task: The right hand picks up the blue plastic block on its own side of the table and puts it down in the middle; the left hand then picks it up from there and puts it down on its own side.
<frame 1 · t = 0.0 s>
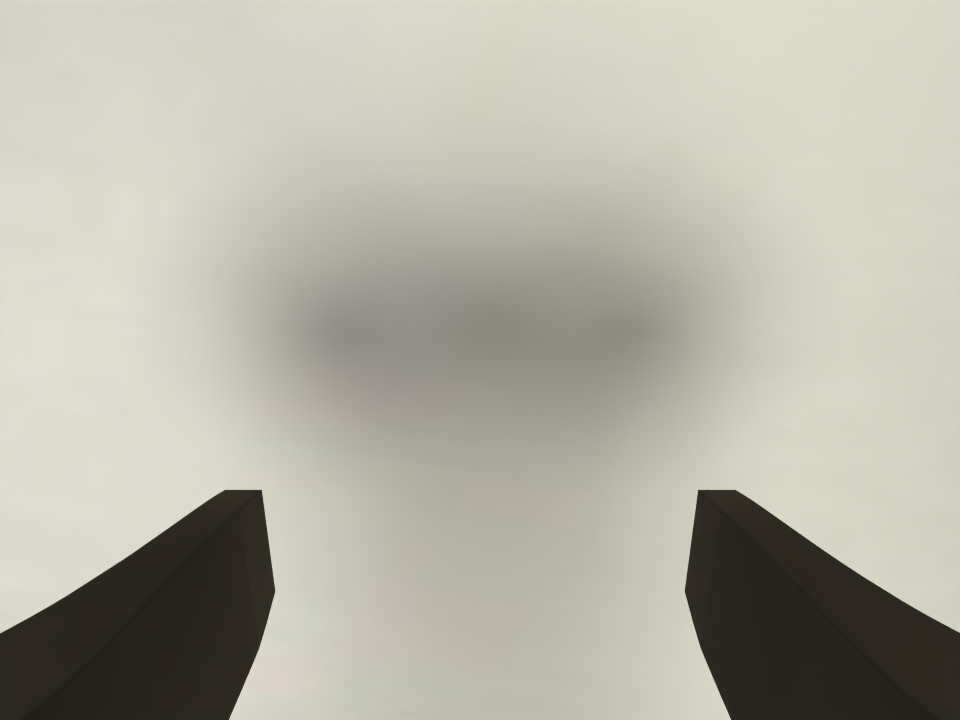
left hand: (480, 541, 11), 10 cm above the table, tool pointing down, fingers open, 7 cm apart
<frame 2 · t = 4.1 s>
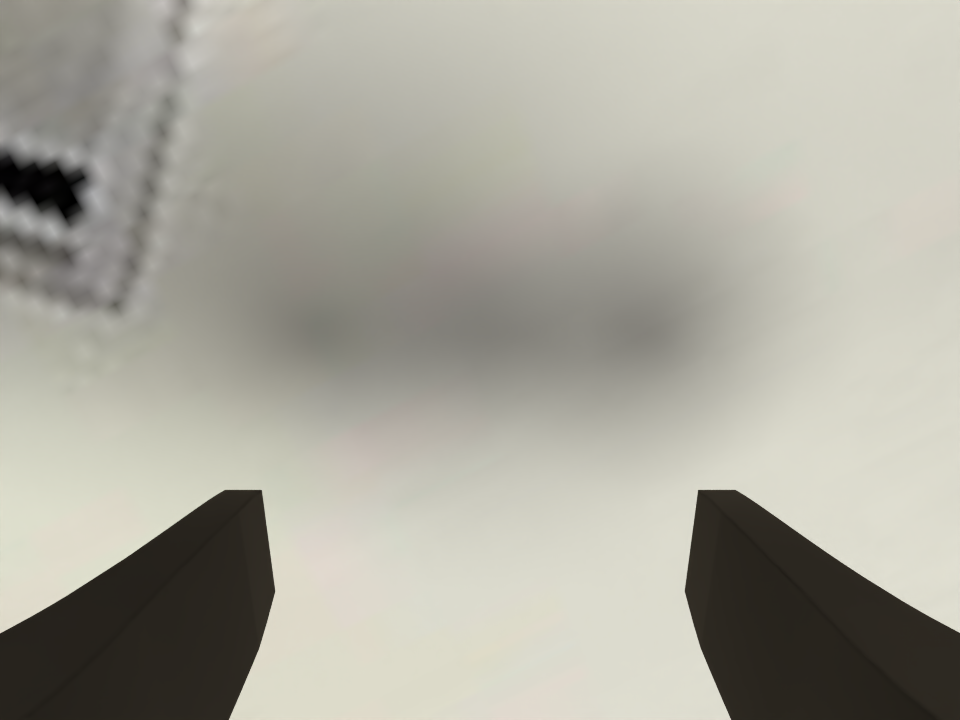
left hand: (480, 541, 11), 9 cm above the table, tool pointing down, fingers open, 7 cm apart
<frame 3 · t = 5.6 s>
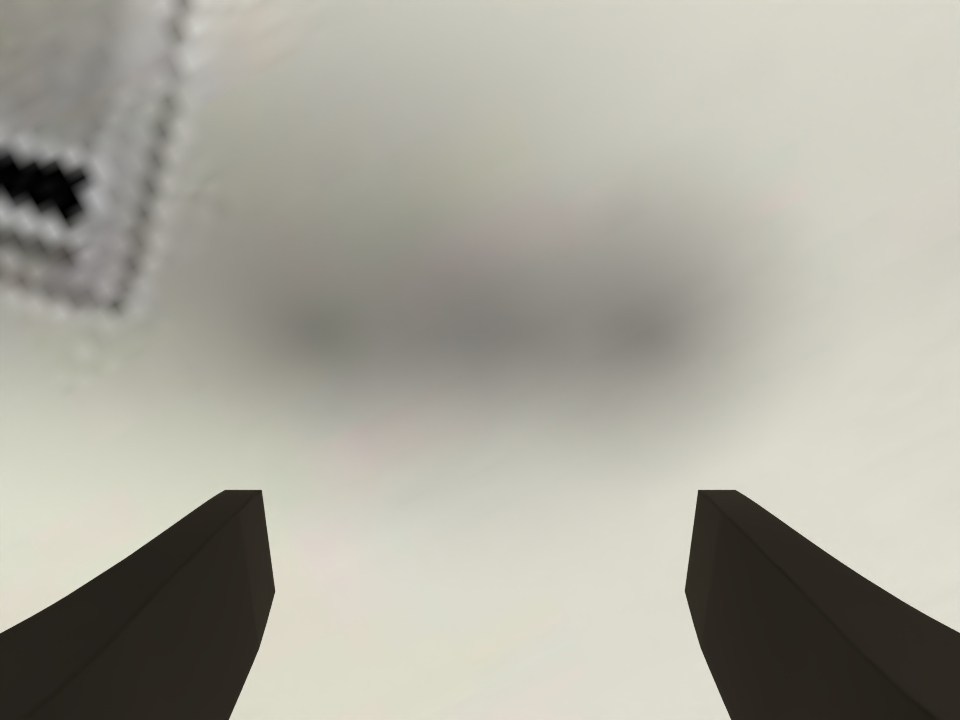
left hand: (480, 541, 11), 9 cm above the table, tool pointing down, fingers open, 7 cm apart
when the right hand's fingers open (3 cm above the table, at t = 7.4 s): block drops 1 cm, on the table.
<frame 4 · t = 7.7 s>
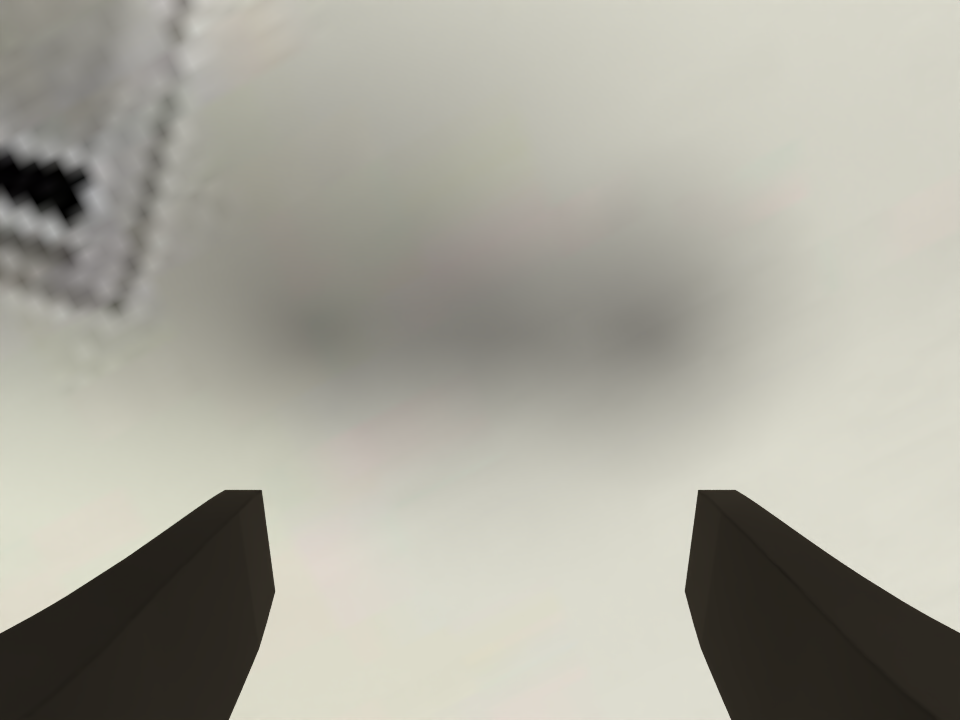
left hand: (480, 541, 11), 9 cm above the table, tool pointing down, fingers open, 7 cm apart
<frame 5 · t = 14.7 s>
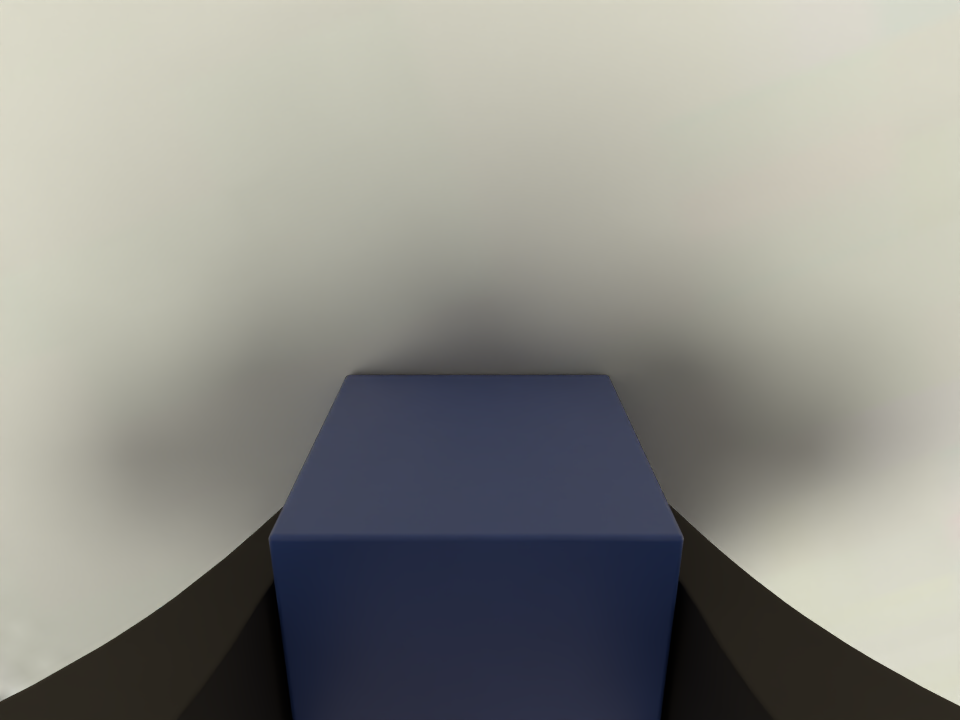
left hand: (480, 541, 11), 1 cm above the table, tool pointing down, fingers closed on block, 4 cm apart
block: (477, 492, 13), on the table, touching left hand
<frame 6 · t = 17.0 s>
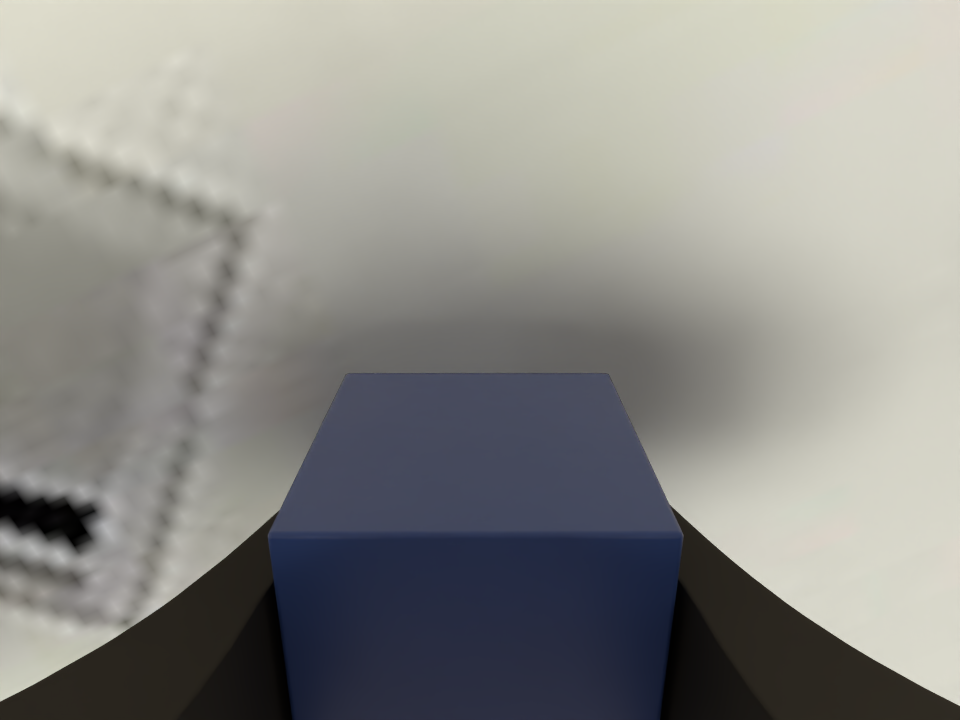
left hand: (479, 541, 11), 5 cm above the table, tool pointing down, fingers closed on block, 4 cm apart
block: (477, 490, 13), point 3 cm above the table, touching left hand
when the left hand's fingers open (3 cm above the table, at t = 19.6 s): block drops 1 cm, on the table.
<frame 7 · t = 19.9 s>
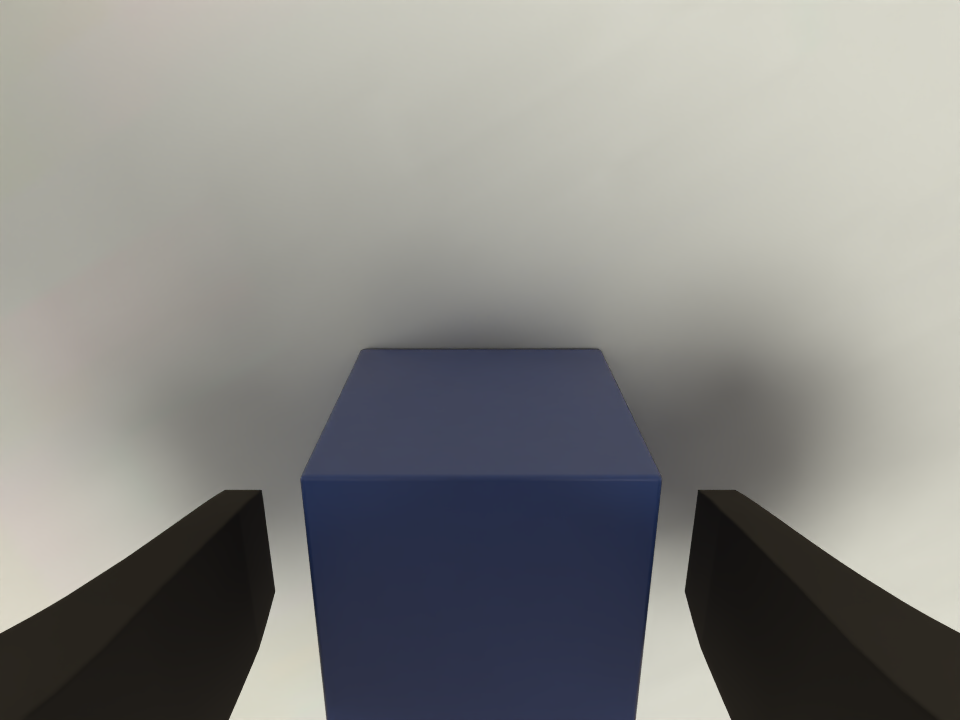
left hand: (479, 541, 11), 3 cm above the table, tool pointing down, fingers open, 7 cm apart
block: (480, 459, 14), on the table
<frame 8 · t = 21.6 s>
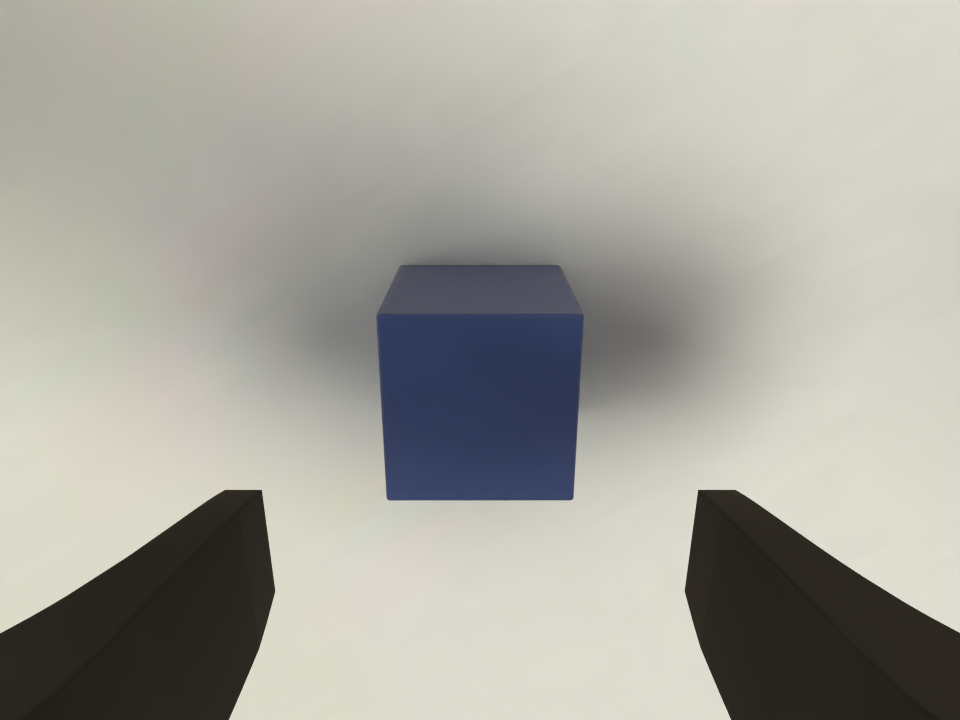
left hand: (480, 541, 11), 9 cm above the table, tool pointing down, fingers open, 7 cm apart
block: (479, 344, 20), on the table
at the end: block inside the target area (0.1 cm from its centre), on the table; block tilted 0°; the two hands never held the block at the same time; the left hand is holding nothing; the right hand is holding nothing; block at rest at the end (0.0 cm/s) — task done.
